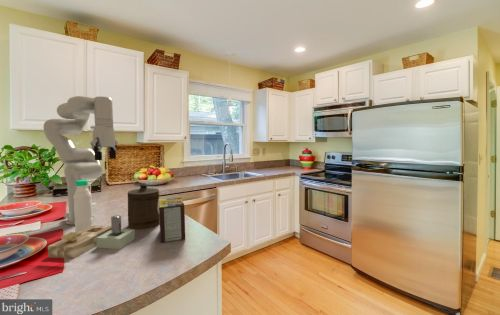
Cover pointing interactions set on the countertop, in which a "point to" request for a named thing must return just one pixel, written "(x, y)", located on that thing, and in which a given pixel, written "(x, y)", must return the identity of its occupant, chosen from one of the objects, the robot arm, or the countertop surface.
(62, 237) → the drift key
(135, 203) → the wooden container
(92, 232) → the socket block
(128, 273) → the countertop surface
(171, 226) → the protein box
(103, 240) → the pale green square block
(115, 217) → the silver cylinder
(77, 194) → the water bottle
